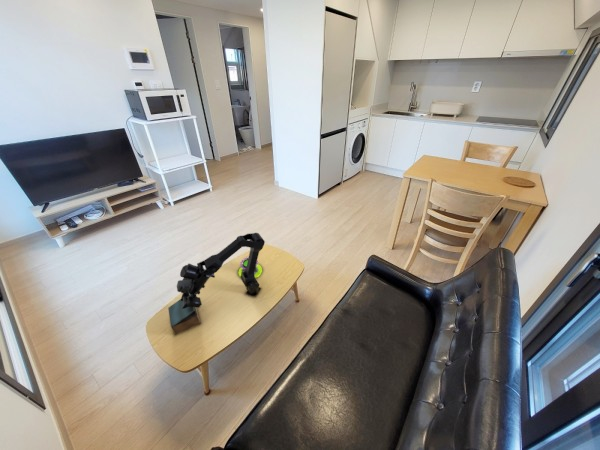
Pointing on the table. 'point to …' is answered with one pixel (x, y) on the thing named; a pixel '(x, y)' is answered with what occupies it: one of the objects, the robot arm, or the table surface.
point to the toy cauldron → (244, 265)
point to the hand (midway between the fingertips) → (182, 304)
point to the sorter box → (187, 322)
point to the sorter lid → (179, 311)
